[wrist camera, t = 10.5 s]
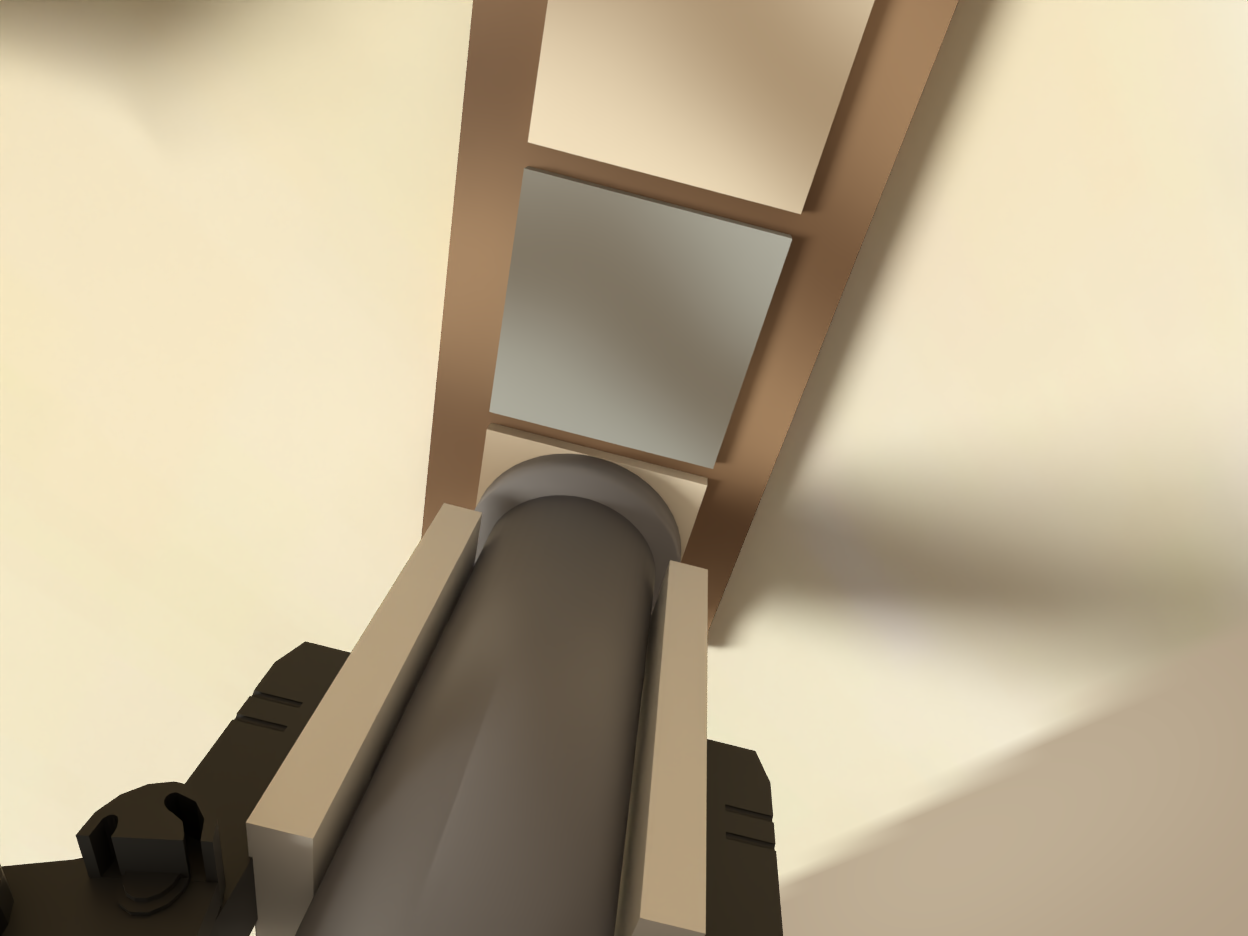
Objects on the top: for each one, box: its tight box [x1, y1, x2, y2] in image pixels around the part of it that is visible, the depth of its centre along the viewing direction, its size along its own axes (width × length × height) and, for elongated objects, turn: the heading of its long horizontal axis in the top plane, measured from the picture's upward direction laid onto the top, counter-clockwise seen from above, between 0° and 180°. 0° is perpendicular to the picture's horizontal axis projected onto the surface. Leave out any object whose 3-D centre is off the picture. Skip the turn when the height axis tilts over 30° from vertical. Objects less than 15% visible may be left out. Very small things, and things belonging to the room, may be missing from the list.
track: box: [421, 0, 959, 633], centre depth 12 cm, size 21×7×1 cm, turn 167°
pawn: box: [295, 453, 681, 936], centre depth 10 cm, size 5×5×12 cm
